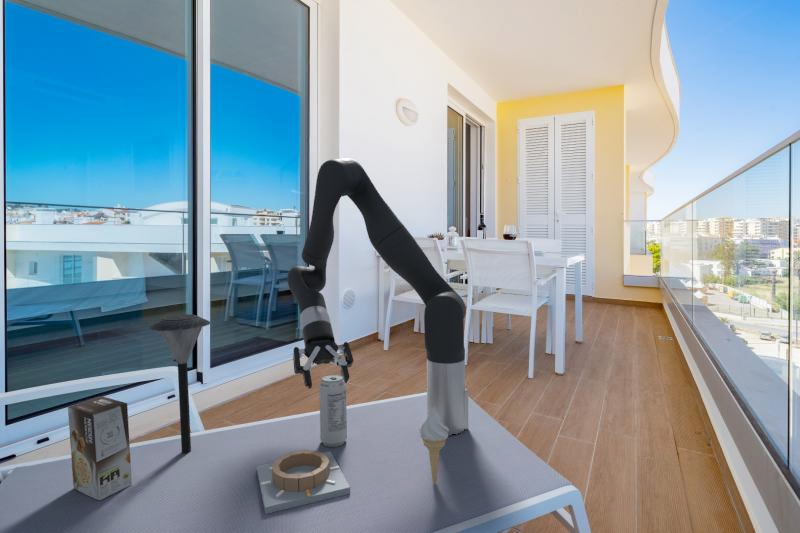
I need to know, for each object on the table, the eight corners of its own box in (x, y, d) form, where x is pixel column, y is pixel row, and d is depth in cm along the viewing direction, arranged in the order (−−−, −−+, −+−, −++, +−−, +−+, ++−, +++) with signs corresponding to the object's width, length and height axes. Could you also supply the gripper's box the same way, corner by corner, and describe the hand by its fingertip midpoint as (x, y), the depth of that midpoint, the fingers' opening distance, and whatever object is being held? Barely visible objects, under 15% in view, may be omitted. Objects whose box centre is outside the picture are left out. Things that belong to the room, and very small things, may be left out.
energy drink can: (340, 433, 107) (338, 372, 106) (351, 443, 102) (350, 378, 101) (316, 440, 103) (314, 376, 102) (327, 450, 98) (325, 383, 97)
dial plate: (330, 456, 96) (329, 439, 95) (350, 493, 82) (349, 473, 82) (256, 471, 90) (256, 453, 90) (265, 514, 76) (264, 493, 76)
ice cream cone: (429, 495, 81) (429, 414, 80) (414, 480, 86) (413, 404, 85) (455, 487, 83) (455, 408, 82) (439, 473, 88) (438, 399, 87)
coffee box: (134, 484, 86) (129, 402, 85) (98, 502, 80) (93, 414, 79) (106, 473, 90) (101, 395, 89) (70, 489, 84) (65, 405, 83)
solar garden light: (216, 458, 95) (210, 319, 93) (151, 470, 91) (143, 324, 89) (216, 435, 107) (211, 310, 105) (158, 444, 102) (151, 314, 100)
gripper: (290, 321, 110) (299, 381, 100) (346, 317, 116) (360, 372, 106) (287, 338, 115) (296, 396, 106) (341, 333, 121) (354, 388, 111)
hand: (328, 384), depth 106 cm, fingers open, 8 cm apart
